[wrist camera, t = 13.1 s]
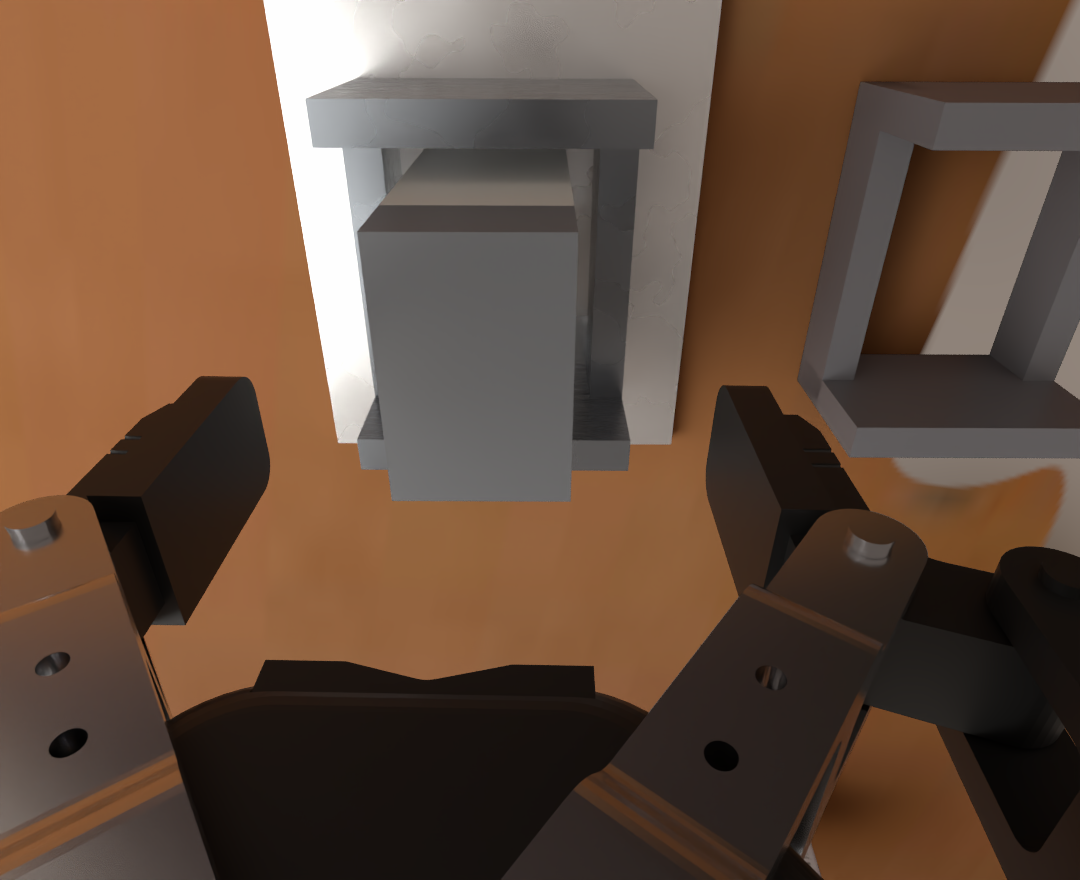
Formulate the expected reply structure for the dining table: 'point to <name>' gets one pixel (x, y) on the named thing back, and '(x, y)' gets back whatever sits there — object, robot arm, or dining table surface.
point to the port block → (510, 123)
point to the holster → (1031, 314)
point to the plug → (475, 324)
